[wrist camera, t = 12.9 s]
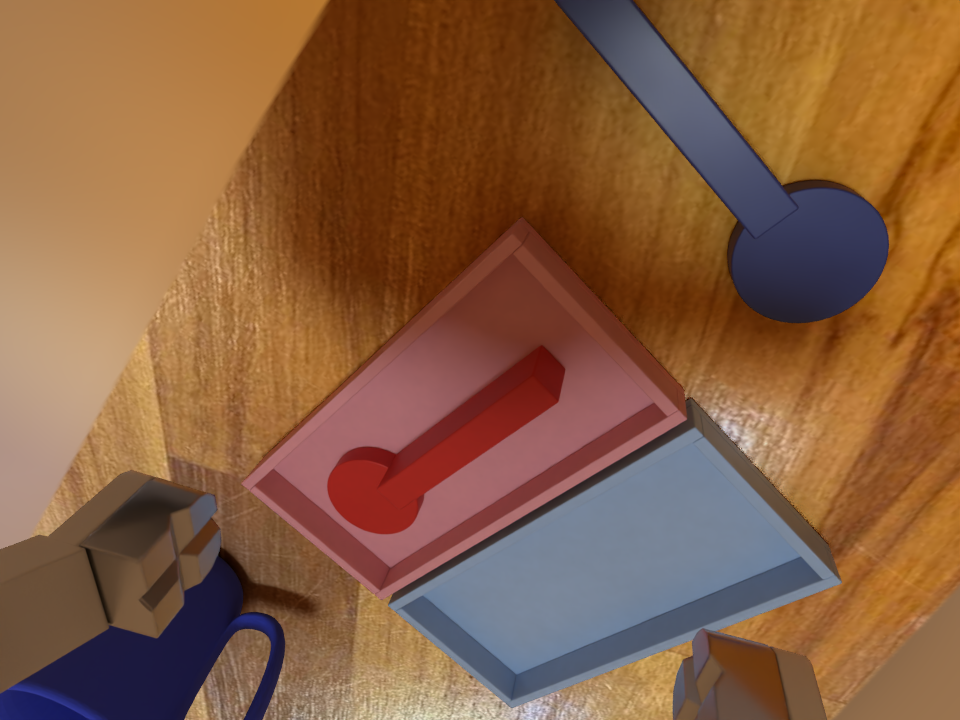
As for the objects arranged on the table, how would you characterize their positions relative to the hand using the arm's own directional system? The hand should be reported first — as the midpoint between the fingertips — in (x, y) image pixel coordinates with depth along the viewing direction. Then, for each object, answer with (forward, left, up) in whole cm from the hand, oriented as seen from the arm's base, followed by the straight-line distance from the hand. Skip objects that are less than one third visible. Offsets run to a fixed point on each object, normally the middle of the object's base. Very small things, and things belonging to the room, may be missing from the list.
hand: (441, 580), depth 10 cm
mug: (+2, -27, -14) cm, 31 cm away
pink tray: (+2, -8, -14) cm, 17 cm away
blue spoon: (+1, +7, -14) cm, 16 cm away
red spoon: (+2, -9, -14) cm, 16 cm away
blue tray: (+12, -8, -14) cm, 20 cm away
